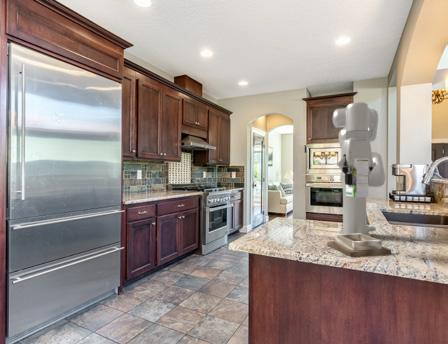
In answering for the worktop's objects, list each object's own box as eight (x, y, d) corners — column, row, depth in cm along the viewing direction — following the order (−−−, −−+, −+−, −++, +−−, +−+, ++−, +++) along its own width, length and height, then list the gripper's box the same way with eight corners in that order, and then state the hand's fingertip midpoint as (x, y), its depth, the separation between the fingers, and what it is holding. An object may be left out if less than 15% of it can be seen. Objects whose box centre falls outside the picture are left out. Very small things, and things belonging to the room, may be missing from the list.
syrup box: (345, 196, 101) (345, 158, 101) (359, 195, 101) (359, 158, 101) (353, 197, 95) (353, 157, 95) (369, 197, 95) (369, 157, 95)
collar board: (363, 243, 106) (363, 232, 106) (391, 254, 93) (391, 241, 93) (327, 245, 104) (327, 234, 104) (350, 256, 90) (350, 243, 90)
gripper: (370, 138, 103) (370, 183, 103) (329, 137, 100) (330, 184, 100) (384, 135, 96) (384, 184, 96) (342, 134, 93) (342, 185, 93)
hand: (356, 184), depth 98 cm, fingers closed on syrup box, 6 cm apart
